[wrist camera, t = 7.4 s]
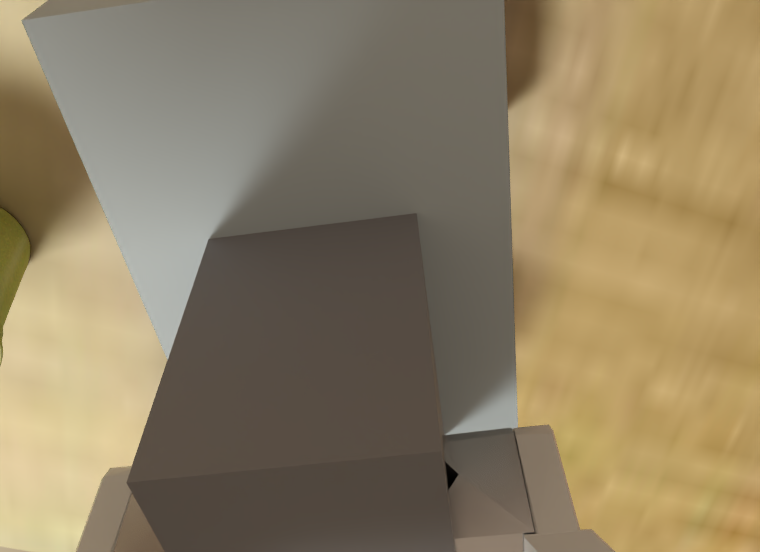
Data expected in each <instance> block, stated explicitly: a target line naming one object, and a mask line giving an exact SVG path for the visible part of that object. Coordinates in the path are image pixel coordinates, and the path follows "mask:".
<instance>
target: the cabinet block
mask: <svg viewBox="0 0 760 552" xmlns="http://www.w3.org/2000/svg"><path fill="white" fill-rule="evenodd" d="M21 21H22V23H23V25H24V28H25V30H26V32H27V35H28V37H29V39H30V42H31V44H32V46H33V49H34V51H35V53H36V56H37V58H38V60H39V63H40V65H41V67H42V70H43V72H44V74H45V76H46V79H47V81H48V83H49V86H50V88H51V90H52V93H53V95H54V97H55V100H56V102H57V104H58V107H59V109H60V111H61V114H62V116H63V118H64V121H65V123H66V125H67V128H68V130H69V132H70V135H71V137H72V139H73V141H74V144H75V146H76V148H77V151H78V153H79V155H80V158H81V160H82V162H83V165H84V167H85V169H86V172H87V174H88V176H89V179H90V181H91V183H92V186H93V188H94V190H95V193H96V195H97V197H98V200H99V202H100V204H101V206H102V209H103V211H104V213H105V216H106V218H107V220H108V223H109V225H110V227H111V230H112V232H113V234H114V237H115V239H116V241H117V244H118V246H119V248H120V251H121V253H122V255H123V258H124V260H125V262H126V265H127V267H128V269H129V271H130V274H131V276H132V278H133V281H134V283H135V285H136V288H137V290H138V292H139V295H140V297H141V299H142V302H143V304H144V306H145V309H146V311H147V313H148V316H149V318H150V320H151V323H152V325H153V327H154V330H155V332H156V334H157V336H158V339H159V341H160V343H161V346H162V348H163V350H164V353H165V355H166V357H167V360H168V361H167V364H166V367H165V370H164V373H163V375H162V378H161V381H160V384H159V387H158V390H157V393H156V396H155V399H154V402H153V405H152V408H151V411H150V414H149V417H148V420H147V423H146V426H145V429H144V432H143V435H142V438H141V441H140V444H139V447H138V450H137V453H136V456H135V458H134V461H133V464H132V467H131V470H130V473H129V476H128V479H127V482H126V483H127V485H128V487H129V488H130V490H131V492H132V494H133V496H134V497H135V499H136V501H137V503H138V505H139V506H140V508H141V510H142V512H143V514H144V515H145V517H146V519H147V521H148V523H149V524H150V526H151V528H152V530H153V532H154V533H155V535H156V537H157V539H158V541H159V542H160V544H161V546H162V548H163V550H164V551H165V552H455V548H454V540H453V531H452V522H451V512H450V503H449V494H448V490H449V489H448V481H447V473H446V465H445V457H444V448H443V437H442V435H450V434H459V433H468V432H477V431H485V430H494V429H503V428H512V429H513V428H518V417H517V386H516V354H515V323H514V292H513V260H512V229H511V198H510V166H509V135H508V104H507V72H506V41H505V10H504V0H48V1H47V2H45V3H44V4H43V5H41V6H40V7H39V8H37V9H36V10H35V11H33V12H32V13H31V14H29V15H28V16H27V17H25V18H24V19H23V20H21Z"/></svg>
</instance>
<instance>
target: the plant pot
mask: <svg viewBox="0 0 760 552" xmlns="http://www.w3.org/2000/svg"><path fill="white" fill-rule="evenodd" d="M29 257H30V243H29V240H28V237H27V235H26V233H25V231H24V230H23V228H22V227H21V225H20V224H19V223H18V222H17V221H16V219H15V218H13V217H12V216H11V215H10V214H9V213H8V212H7V211H5V210H4V209H2V208H0V365H1V362H2V357H3V346H2V336H3V325H4V323H5V320H6V318H7V315H8V312H9V310H10V307H11V305H12V302H13V300H14V297H15V294H16V292H17V289H18V287H19V284H20V282H21V279H22V277H23V274H24V272H25V270H26V267H27V265H28V261H29Z"/></svg>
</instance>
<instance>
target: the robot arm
mask: <svg viewBox="0 0 760 552" xmlns="http://www.w3.org/2000/svg"><path fill="white" fill-rule="evenodd" d="M442 437H443V448H444V457H445V465H446V473H447V481H448V489H449V490H448V494H449V503H450V512H451V522H452V531H453V540H454V548H455V552H615V551H614V550H613V549H612V548H611V547H610V546H609V545H608V544H607V543H606V542H604V541H603V540H602V539H601V538H600V537H599V536H598V535H597V534H596V533H595V532H594V531H593V530H592V529H583V530H580V528H579V524H578V521H577V517H576V513H575V510H574V506H573V502H572V498H571V495H570V491H569V487H568V484H567V480H566V476H565V473H564V469H563V465H562V462H561V458H560V454H559V451H558V447H557V443H556V440H555V436H554V432H553V430H552V429H551V427H550V426H549V425H539V426H529V427H520V428H513V429H512V428H503V429H494V430H485V431H477V432H468V433H459V434H450V435H442ZM131 467H132V466H128V467H117V468H110V469H109V471H108V472H107V473H106V474H105V476H104V477H103V478H102V480H101V483H100V486H99V488H98V491H97V494H96V497H95V499H94V502H93V505H92V508H91V510H90V513H89V516H88V519H87V522H86V524H85V527H84V530H83V533H82V535H81V538H80V541H79V544H78V546H77V549H76V552H165V551H164V550H163V548H162V546H161V544H160V542H159V541H158V539H157V537H156V535H155V533H154V532H153V530H152V528H151V526H150V524H149V523H148V521H147V519H146V517H145V515H144V514H143V512H142V510H141V508H140V506H139V505H138V503H137V501H136V499H135V497H134V496H133V494H132V492H131V490H130V488H129V487H128V485H127V483H126V482H127V479H128V476H129V473H130V470H131Z"/></svg>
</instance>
